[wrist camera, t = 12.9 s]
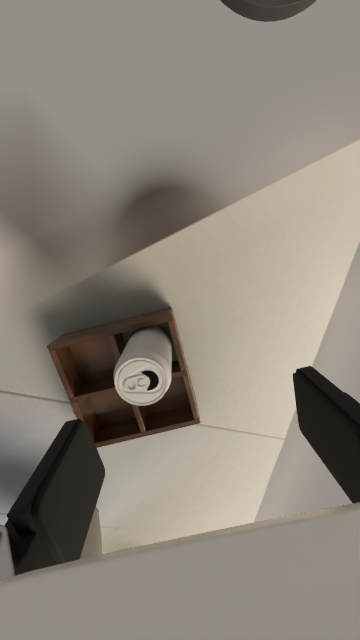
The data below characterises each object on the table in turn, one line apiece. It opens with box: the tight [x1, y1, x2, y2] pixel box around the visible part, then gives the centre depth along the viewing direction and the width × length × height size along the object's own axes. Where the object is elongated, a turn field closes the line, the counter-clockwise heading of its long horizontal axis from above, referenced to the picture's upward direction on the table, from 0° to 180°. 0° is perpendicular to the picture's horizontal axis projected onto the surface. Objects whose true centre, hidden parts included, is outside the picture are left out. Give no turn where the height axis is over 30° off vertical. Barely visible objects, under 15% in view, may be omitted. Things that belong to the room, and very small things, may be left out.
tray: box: [47, 308, 200, 448], centre depth 37 cm, size 17×17×5 cm
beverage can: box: [114, 325, 172, 406], centre depth 31 cm, size 6×6×12 cm
